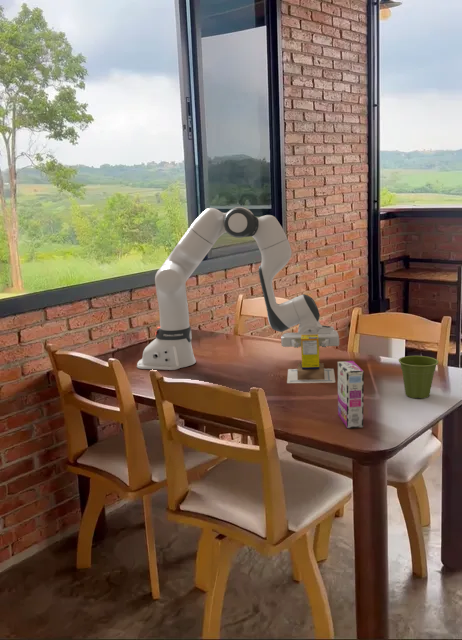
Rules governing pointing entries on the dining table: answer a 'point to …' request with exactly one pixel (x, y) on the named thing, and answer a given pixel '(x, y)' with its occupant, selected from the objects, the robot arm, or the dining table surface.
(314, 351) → the supplement box
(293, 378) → the blueprint board
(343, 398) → the candy bar box
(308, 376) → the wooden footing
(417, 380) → the plant pot
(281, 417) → the dining table surface
